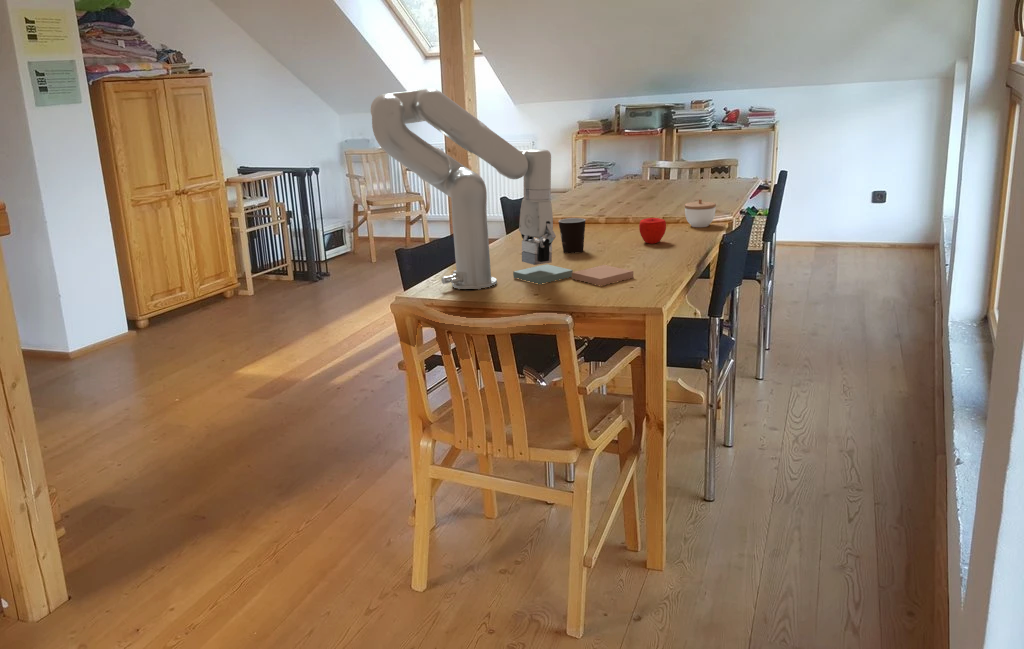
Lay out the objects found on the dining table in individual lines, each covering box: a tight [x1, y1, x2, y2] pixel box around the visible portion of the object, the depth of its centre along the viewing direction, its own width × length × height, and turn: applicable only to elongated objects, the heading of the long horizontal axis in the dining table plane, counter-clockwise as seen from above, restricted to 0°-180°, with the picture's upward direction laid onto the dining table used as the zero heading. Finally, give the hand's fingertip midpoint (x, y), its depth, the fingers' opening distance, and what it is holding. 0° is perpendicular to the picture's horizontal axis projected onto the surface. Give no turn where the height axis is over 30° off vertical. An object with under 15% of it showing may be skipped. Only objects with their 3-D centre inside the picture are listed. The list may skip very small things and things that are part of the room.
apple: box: [638, 217, 667, 244], centre depth 281 cm, size 9×9×8 cm
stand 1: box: [512, 263, 574, 285], centre depth 244 cm, size 12×12×2 cm
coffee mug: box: [557, 217, 586, 254], centre depth 277 cm, size 12×9×10 cm
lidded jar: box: [684, 198, 717, 228], centre depth 304 cm, size 11×11×9 cm
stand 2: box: [571, 264, 634, 287], centre depth 238 cm, size 12×12×2 cm
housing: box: [521, 238, 553, 266], centre depth 242 cm, size 6×6×6 cm
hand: (536, 258), depth 242 cm, fingers closed on housing, 6 cm apart
